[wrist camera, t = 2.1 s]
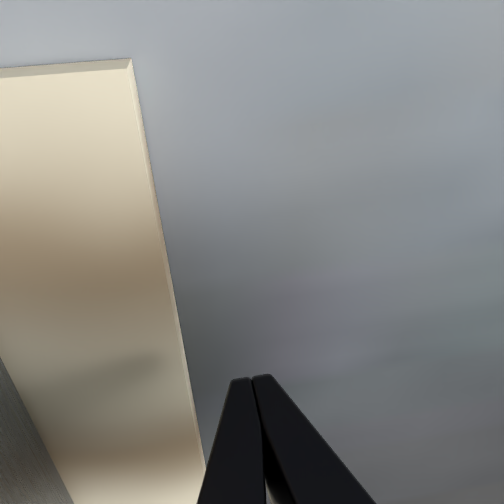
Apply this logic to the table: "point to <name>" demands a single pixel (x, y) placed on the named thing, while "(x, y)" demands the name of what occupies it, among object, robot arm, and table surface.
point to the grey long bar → (24, 454)
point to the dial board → (92, 287)
